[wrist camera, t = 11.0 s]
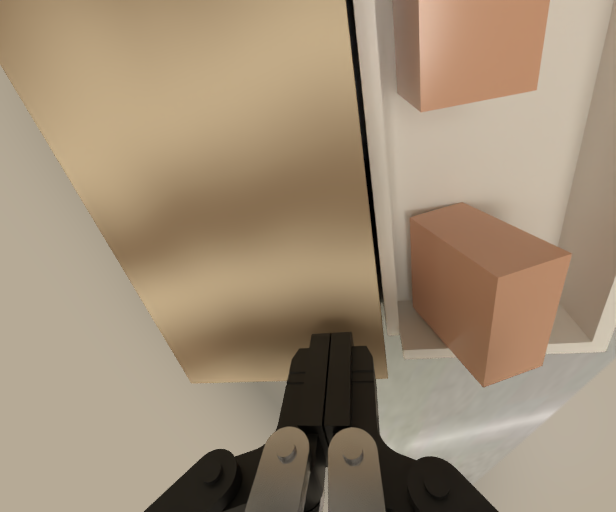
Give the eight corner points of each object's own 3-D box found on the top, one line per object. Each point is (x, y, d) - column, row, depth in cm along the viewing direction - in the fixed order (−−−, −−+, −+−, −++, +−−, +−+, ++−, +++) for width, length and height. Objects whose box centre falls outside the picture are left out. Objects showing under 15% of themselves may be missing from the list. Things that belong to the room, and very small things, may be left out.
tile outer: (498, 278, 9) (572, 253, 9) (409, 217, 13) (462, 201, 14) (483, 387, 12) (541, 365, 12) (412, 307, 16) (457, 292, 16)
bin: (332, -184, 9) (319, -329, 6) (702, -333, 7) (1010, -680, 4) (383, 303, 18) (390, 359, 15) (553, 290, 16) (605, 351, 13)
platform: (55, -72, 11) (-130, -153, 7) (325, -181, 9) (301, -392, 5) (225, 314, 20) (191, 383, 16) (380, 303, 18) (388, 378, 14)
